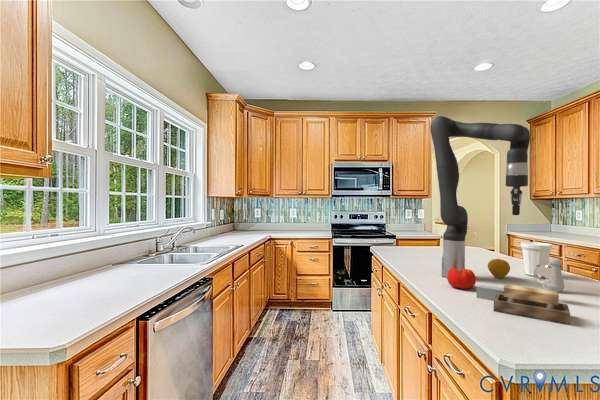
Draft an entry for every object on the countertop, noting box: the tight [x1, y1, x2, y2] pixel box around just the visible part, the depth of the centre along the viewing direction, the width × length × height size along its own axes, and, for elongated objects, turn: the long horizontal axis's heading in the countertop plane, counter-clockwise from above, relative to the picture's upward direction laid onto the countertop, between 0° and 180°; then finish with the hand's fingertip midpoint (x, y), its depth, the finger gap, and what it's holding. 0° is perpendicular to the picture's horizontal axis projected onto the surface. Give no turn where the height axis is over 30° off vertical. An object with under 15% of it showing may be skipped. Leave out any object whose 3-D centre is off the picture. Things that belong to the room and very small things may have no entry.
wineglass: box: [533, 265, 554, 290], centre depth 118 cm, size 6×6×12 cm
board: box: [503, 283, 560, 305], centre depth 103 cm, size 14×5×3 cm, turn 54°
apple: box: [487, 258, 511, 279], centre depth 150 cm, size 9×9×9 cm
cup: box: [520, 241, 553, 278], centre depth 155 cm, size 12×12×15 cm
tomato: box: [446, 268, 477, 290], centre depth 133 cm, size 11×11×8 cm
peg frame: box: [493, 293, 571, 326], centre depth 103 cm, size 19×10×4 cm, turn 54°
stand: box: [476, 283, 504, 301], centre depth 117 cm, size 12×4×4 cm, turn 54°
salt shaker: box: [545, 257, 565, 294], centre depth 128 cm, size 6×6×13 cm
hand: (516, 214), depth 131 cm, fingers open, 8 cm apart
